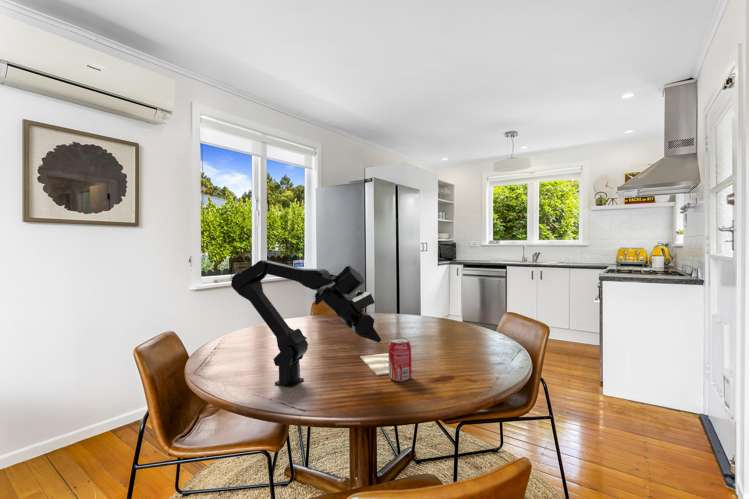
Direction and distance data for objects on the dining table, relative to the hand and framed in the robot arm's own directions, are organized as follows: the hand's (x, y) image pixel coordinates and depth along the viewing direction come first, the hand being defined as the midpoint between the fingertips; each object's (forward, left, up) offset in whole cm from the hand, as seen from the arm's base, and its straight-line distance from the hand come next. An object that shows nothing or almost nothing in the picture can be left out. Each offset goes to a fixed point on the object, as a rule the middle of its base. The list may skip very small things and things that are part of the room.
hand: (375, 337), depth 114 cm
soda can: (+5, -6, -14) cm, 16 cm away
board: (+16, +3, -13) cm, 21 cm away
